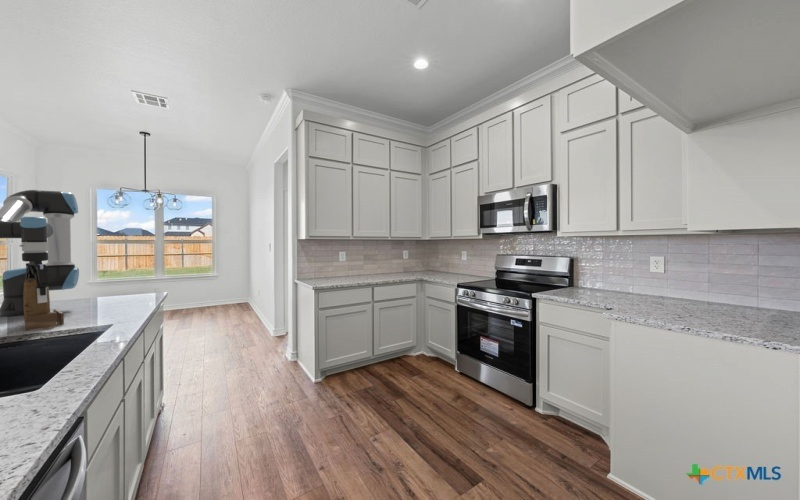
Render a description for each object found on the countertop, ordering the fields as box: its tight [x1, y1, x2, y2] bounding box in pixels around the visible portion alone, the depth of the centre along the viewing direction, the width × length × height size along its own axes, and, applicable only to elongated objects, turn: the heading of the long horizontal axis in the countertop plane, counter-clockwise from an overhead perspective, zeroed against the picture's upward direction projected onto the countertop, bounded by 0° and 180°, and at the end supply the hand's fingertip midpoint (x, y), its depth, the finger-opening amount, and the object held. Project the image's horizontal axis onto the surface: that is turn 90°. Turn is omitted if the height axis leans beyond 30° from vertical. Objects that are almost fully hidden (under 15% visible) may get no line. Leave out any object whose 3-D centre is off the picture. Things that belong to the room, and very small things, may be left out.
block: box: [23, 278, 51, 320], centre depth 139 cm, size 11×8×20 cm
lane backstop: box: [24, 312, 58, 332], centre depth 136 cm, size 1×9×6 cm, turn 147°
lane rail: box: [52, 308, 65, 325], centre depth 146 cm, size 14×1×5 cm, turn 57°
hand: (37, 301), depth 139 cm, fingers closed on block, 11 cm apart
